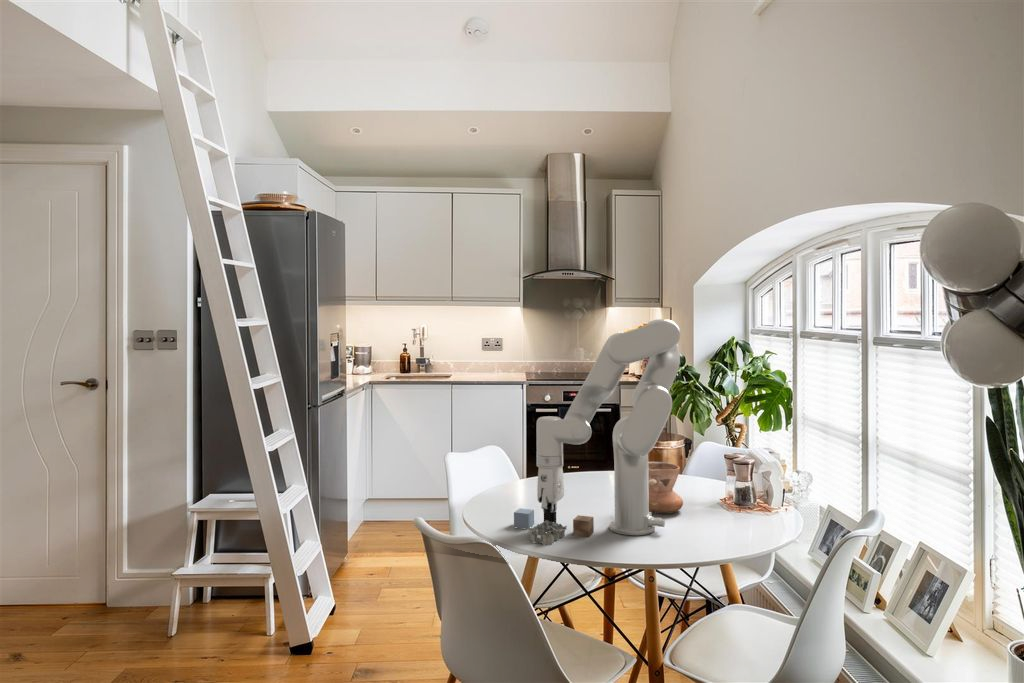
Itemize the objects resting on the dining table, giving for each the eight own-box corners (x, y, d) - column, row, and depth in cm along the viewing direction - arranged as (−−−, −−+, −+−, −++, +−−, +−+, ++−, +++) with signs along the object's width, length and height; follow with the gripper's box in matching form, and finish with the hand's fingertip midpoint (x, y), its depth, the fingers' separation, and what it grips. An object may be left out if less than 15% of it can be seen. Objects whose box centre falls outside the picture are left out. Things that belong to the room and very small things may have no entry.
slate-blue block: (534, 525, 185) (534, 509, 185) (528, 529, 181) (528, 513, 181) (519, 523, 187) (519, 508, 187) (514, 528, 183) (513, 512, 183)
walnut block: (593, 532, 178) (593, 516, 178) (589, 537, 173) (589, 521, 173) (578, 531, 179) (577, 515, 179) (573, 536, 175) (573, 519, 175)
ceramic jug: (675, 521, 188) (676, 472, 188) (627, 514, 194) (628, 467, 194) (689, 507, 203) (689, 462, 203) (644, 501, 210) (644, 458, 210)
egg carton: (548, 547, 167) (548, 532, 167) (525, 542, 171) (524, 527, 171) (569, 536, 175) (569, 521, 175) (546, 531, 180) (546, 517, 180)
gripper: (553, 466, 172) (553, 534, 172) (570, 456, 185) (570, 519, 186) (527, 464, 175) (527, 531, 175) (546, 455, 188) (546, 517, 189)
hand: (550, 525), depth 180 cm, fingers closed
